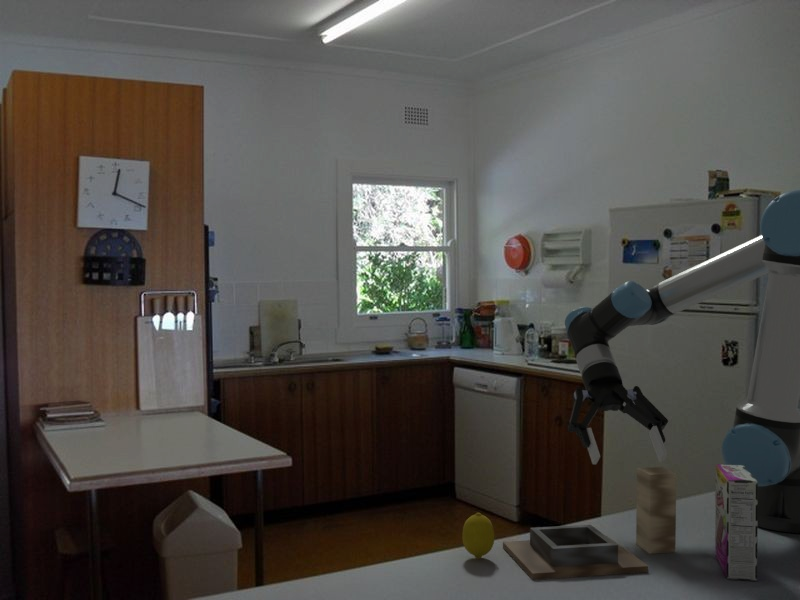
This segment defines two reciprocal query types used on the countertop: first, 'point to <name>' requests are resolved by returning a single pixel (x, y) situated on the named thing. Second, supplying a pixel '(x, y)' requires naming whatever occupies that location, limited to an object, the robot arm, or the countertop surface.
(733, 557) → the candy bar box
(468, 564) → the countertop surface
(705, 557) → the countertop surface
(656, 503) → the maple post
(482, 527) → the lemon
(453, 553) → the countertop surface
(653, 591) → the countertop surface
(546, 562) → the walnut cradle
